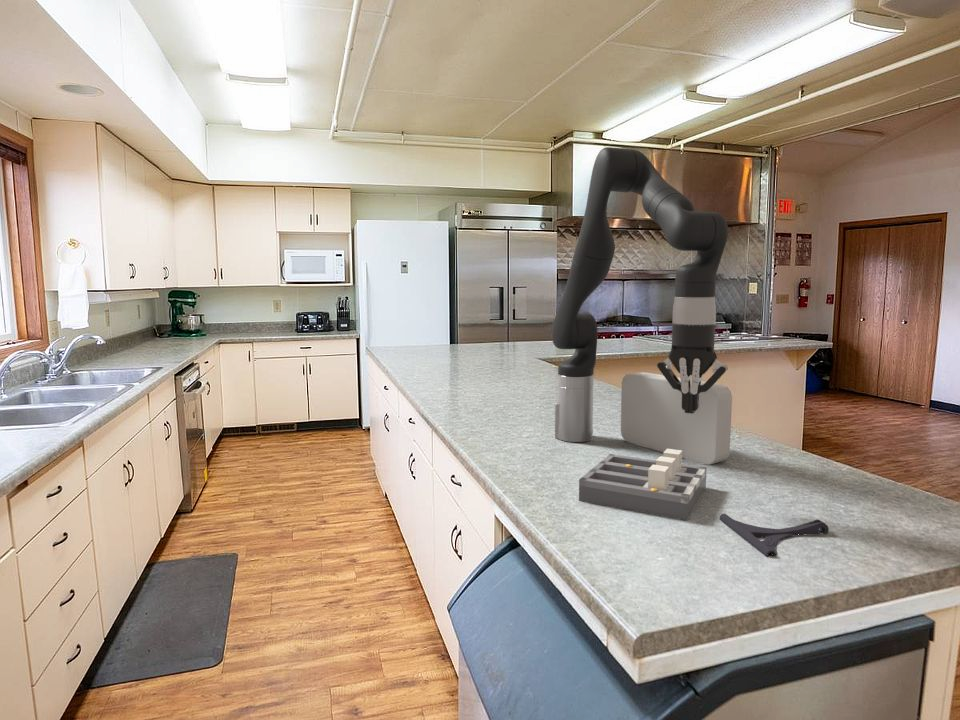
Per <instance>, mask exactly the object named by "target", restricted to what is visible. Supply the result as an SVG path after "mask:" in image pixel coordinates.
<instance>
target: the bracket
mask: <svg viewBox="0 0 960 720" xmlns="http://www.w3.org/2000/svg"><path fill="white" fill-rule="evenodd" d="M719 521H721V522H722V523H723V524H724V525H725V526H727V528H730V530H731V531H733V532H734V533H735V534H737V535H738V536H739V537H740V538H742V539H743V540H744V541H745V542H747V543H748V544H749V545H751V546H752V547H754V549H756V550H757V551H758V552H759V553H760V554H762V556H765V557H766V558H768V557H769V554H771V555H772V556H773V557H777V551H776V546H777V544H779V542H780V541H782V540H784V539H786V538H790V536H791V537H793V535H797V536H805V535H804V534H815V535H821V534H820V533H819V531H820V532H821V533H823V534H822V535H827V534H826V533H828V534H829V526H828V525H827V524H826V522H824V521H822V520H820V519H817V518H816V519H813V520H811V521H808V522H805V523H802V524H799V525H794V526H790V527H783V528H770V527H768V528H767V527H762V526H757V525H752V524H749V523H744V522H741V521H739V520H736V519H733V518H732V517H730V516H729V515H728V514H727V513H721V514H720V515H719ZM822 530H823V531H822ZM798 534H799V535H798ZM759 538H763V540H760V539H759Z"/></svg>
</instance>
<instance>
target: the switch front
mask: <svg viewBox="0 0 960 720" xmlns="http://www.w3.org/2000/svg"><path fill="white" fill-rule="evenodd" d="M643 487H645V488H656V489H658V490H664V491H670V492H673V491H674V486H669V467H667V466H660V465H652V466H651V467H650V468H649V469H648V482H647V483H646V484H645V485H644V486H643Z"/></svg>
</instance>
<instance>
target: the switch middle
mask: <svg viewBox="0 0 960 720" xmlns="http://www.w3.org/2000/svg"><path fill="white" fill-rule="evenodd" d="M655 460H656V465H660V466H667V467H669V480H670V481H676V482H680V480H681V477H678V476H675V468H676V458H670V457H663V455H662V456H659V457H658V458H657V459H655Z"/></svg>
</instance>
